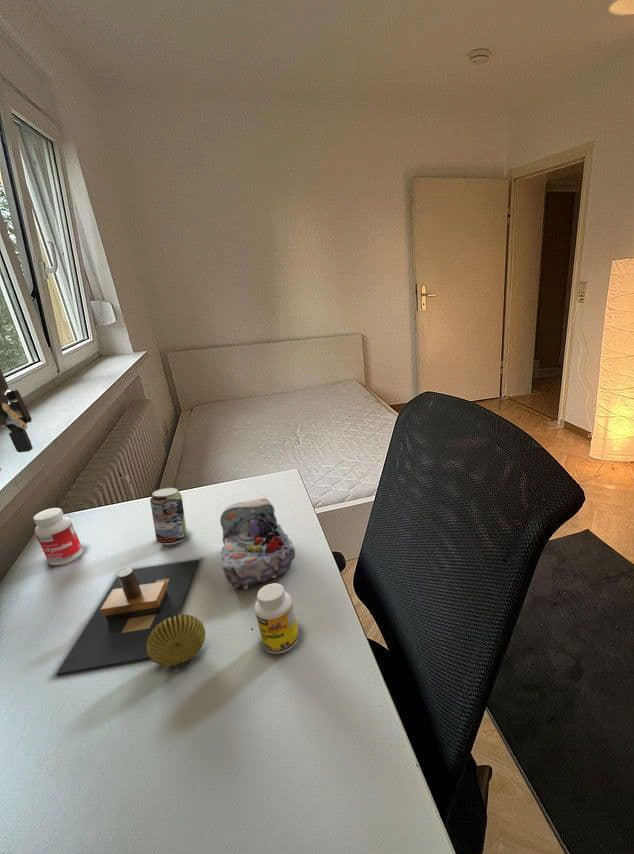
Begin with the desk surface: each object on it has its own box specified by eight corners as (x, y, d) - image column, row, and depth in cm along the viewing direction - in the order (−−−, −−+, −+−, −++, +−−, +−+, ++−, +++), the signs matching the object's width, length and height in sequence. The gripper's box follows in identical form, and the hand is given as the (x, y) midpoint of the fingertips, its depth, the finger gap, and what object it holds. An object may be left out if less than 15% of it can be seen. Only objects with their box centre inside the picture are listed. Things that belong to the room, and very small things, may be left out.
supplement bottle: (257, 653, 69) (244, 603, 65) (273, 625, 74) (262, 577, 70) (290, 658, 68) (279, 607, 64) (305, 629, 73) (295, 580, 69)
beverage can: (152, 547, 96) (135, 500, 92) (175, 528, 103) (161, 483, 98) (176, 550, 95) (160, 502, 90) (198, 530, 101) (185, 485, 97)
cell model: (268, 486, 96) (295, 532, 80) (276, 527, 101) (303, 579, 85) (204, 504, 90) (220, 557, 75) (215, 546, 95) (233, 606, 79)
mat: (57, 676, 67) (56, 673, 67) (121, 573, 89) (121, 571, 89) (162, 657, 69) (160, 655, 69) (199, 561, 91) (199, 559, 91)
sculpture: (208, 638, 72) (196, 600, 69) (212, 655, 69) (200, 617, 66) (154, 662, 69) (138, 623, 65) (156, 681, 65) (139, 641, 62)
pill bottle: (46, 570, 91) (24, 525, 87) (52, 554, 96) (32, 510, 92) (81, 560, 94) (62, 516, 89) (86, 545, 99) (68, 502, 94)
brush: (105, 622, 76) (89, 586, 73) (117, 602, 81) (103, 567, 77) (161, 613, 77) (147, 577, 74) (169, 593, 82) (157, 558, 78)
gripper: (-30, 357, 72) (12, 447, 79) (-105, 379, 59) (-49, 485, 66) (21, 353, 73) (57, 442, 80) (-43, 374, 61) (7, 478, 67)
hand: (9, 461), depth 73 cm, fingers open, 8 cm apart
